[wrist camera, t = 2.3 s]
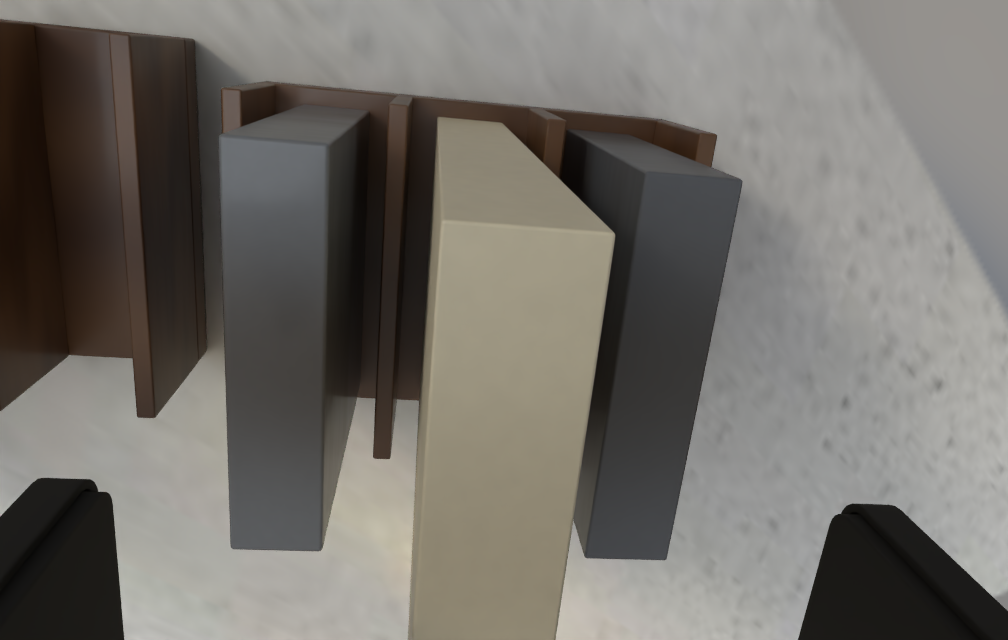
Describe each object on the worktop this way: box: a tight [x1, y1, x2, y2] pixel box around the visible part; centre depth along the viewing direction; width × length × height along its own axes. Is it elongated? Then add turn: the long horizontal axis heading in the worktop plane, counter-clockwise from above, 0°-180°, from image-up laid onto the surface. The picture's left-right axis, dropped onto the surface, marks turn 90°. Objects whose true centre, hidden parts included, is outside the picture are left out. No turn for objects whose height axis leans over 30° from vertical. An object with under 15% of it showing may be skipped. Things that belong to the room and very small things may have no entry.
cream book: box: [408, 117, 615, 640], centre depth 17 cm, size 9×2×15 cm, turn 174°
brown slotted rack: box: [218, 81, 742, 560], centre depth 20 cm, size 10×12×10 cm
